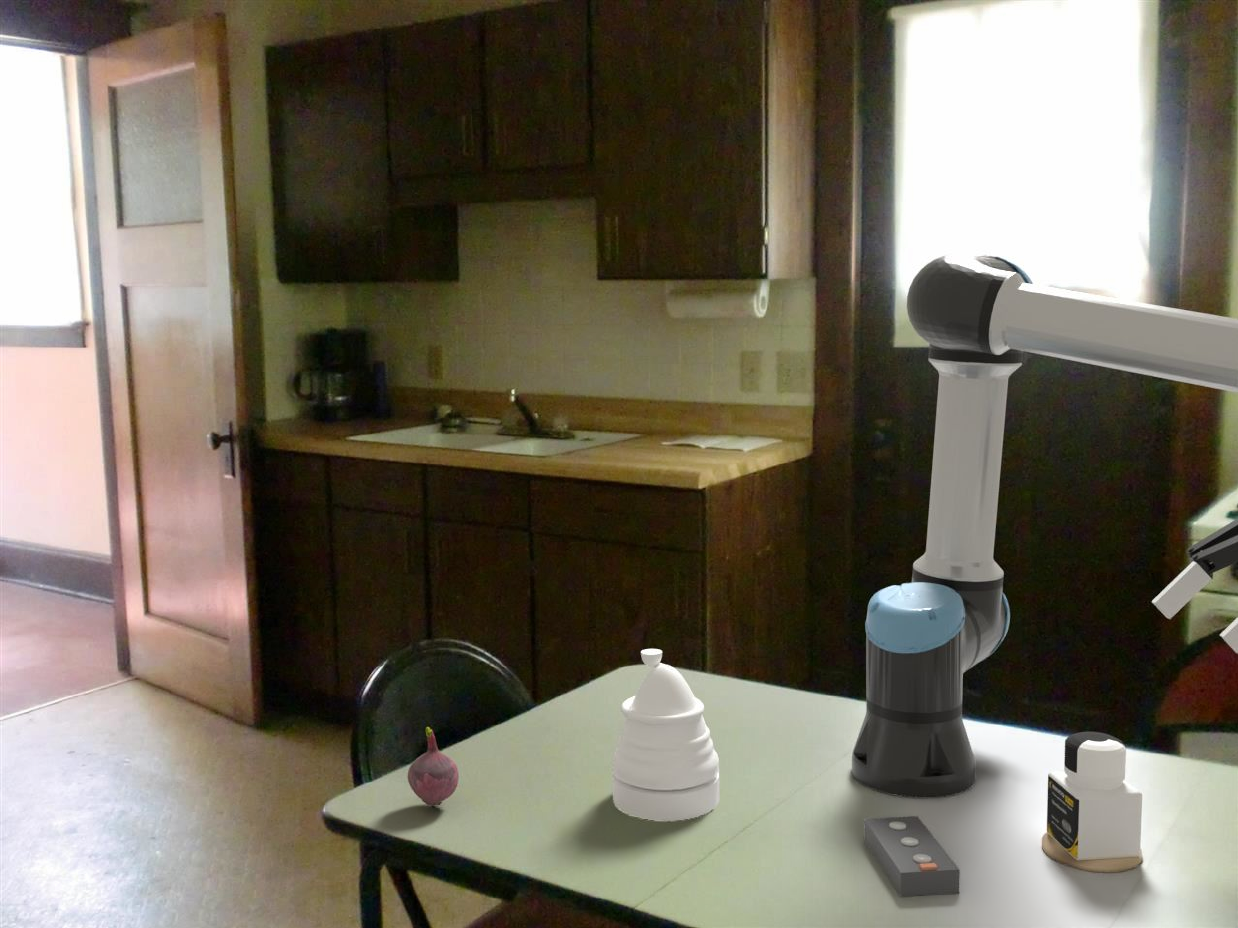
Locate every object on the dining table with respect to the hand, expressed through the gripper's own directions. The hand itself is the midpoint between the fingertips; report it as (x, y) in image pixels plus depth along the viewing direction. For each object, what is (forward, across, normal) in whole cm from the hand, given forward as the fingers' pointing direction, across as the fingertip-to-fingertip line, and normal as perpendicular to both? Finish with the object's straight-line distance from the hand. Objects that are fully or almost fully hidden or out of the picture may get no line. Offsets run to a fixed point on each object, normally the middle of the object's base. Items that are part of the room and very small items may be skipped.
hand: (1193, 626), depth 129 cm
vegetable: (+77, +17, +40) cm, 89 cm away
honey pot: (+57, +16, +21) cm, 63 cm away
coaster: (+25, -3, -9) cm, 26 cm away
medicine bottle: (+24, -3, -9) cm, 26 cm away
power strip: (+39, -4, +5) cm, 40 cm away
